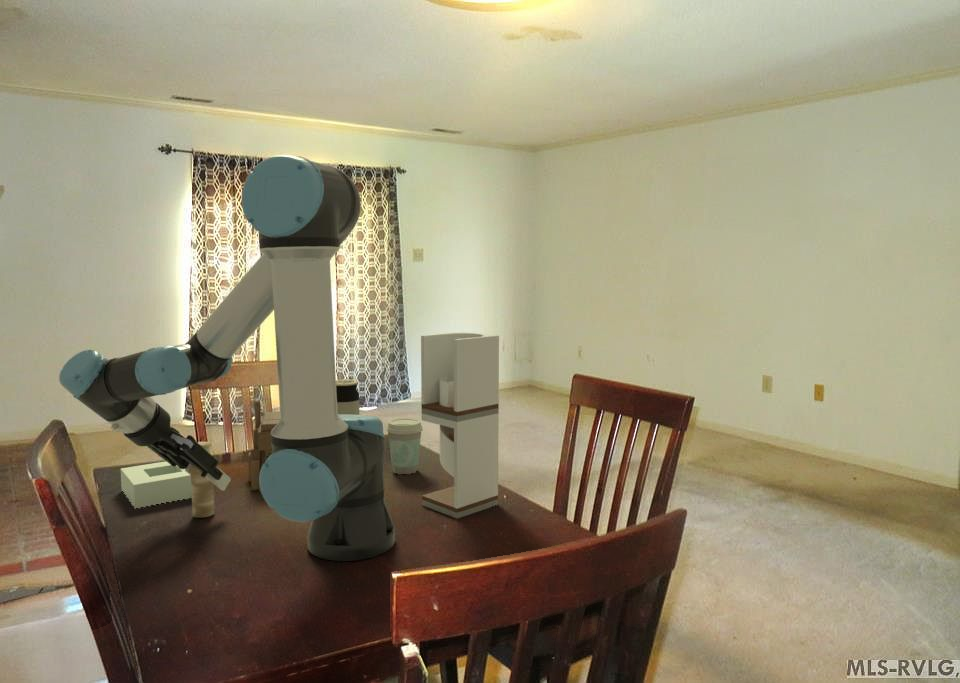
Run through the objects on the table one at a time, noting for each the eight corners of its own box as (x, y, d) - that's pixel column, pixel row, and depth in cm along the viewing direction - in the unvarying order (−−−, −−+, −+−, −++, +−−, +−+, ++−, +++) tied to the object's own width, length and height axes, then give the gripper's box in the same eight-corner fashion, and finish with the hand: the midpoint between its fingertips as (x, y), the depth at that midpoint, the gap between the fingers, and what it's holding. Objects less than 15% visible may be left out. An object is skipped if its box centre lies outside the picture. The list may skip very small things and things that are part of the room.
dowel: (219, 512, 138) (215, 443, 136) (202, 518, 134) (199, 447, 132) (205, 509, 139) (201, 440, 138) (188, 515, 136) (184, 445, 134)
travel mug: (365, 448, 187) (363, 382, 185) (337, 453, 182) (335, 385, 180) (352, 442, 193) (351, 378, 191) (325, 446, 188) (323, 381, 186)
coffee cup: (379, 472, 165) (378, 422, 164) (403, 464, 172) (402, 416, 171) (406, 478, 161) (406, 427, 159) (430, 469, 168) (430, 420, 166)
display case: (462, 492, 151) (462, 331, 147) (498, 504, 143) (499, 335, 140) (422, 505, 143) (421, 335, 139) (457, 518, 135) (457, 339, 132)
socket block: (206, 495, 149) (205, 472, 148) (135, 509, 140) (133, 484, 140) (189, 479, 160) (188, 457, 159) (121, 490, 151) (120, 468, 151)
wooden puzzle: (314, 489, 153) (312, 406, 151) (245, 494, 150) (241, 409, 148) (314, 462, 175) (312, 388, 173) (253, 465, 171) (251, 391, 169)
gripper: (95, 430, 125) (178, 493, 141) (158, 441, 117) (239, 506, 133) (121, 396, 129) (199, 461, 146) (184, 404, 121) (258, 472, 138)
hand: (218, 482), depth 139 cm, fingers closed on dowel, 4 cm apart
